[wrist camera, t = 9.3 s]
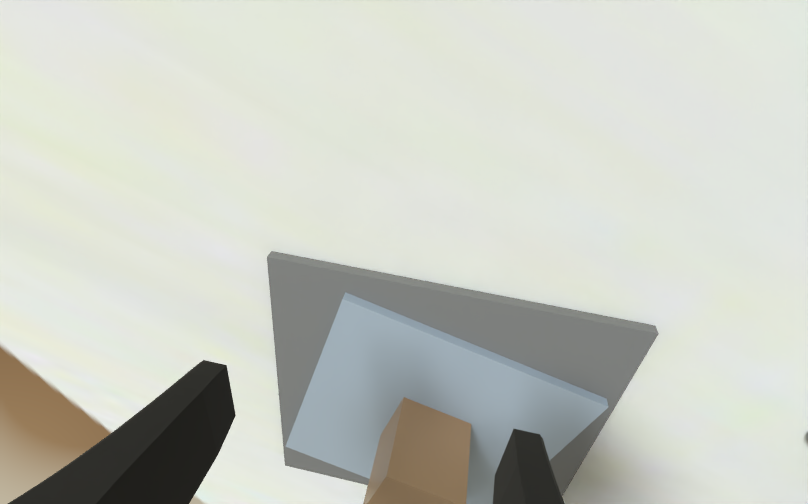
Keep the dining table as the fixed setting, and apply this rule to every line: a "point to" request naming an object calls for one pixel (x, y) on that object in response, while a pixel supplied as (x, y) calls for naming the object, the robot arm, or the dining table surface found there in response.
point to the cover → (426, 408)
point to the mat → (455, 315)
